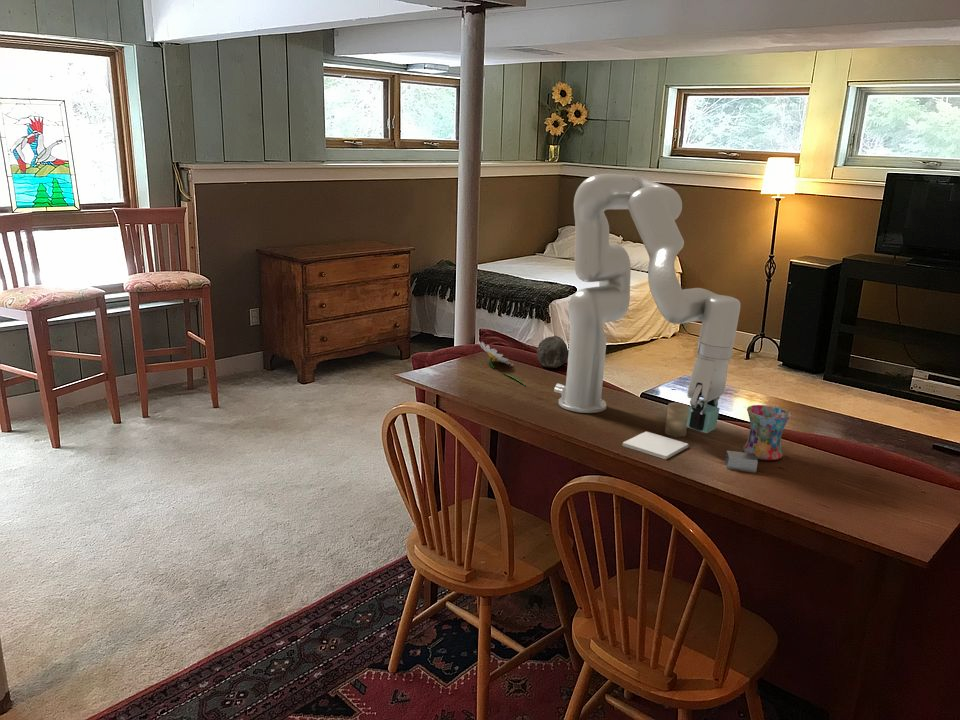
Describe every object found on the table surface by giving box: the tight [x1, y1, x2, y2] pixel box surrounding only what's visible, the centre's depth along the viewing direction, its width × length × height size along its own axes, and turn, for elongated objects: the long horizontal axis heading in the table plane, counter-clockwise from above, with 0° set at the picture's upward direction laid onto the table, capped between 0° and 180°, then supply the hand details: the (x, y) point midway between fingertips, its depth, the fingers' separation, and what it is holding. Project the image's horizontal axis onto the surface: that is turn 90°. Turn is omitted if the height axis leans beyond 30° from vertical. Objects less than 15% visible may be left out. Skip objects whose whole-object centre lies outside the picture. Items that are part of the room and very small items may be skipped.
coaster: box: [621, 431, 689, 460], centre depth 175 cm, size 11×11×1 cm
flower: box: [477, 340, 525, 384], centre depth 229 cm, size 13×5×30 cm
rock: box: [536, 335, 569, 369], centre depth 238 cm, size 10×11×10 cm
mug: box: [742, 404, 792, 461], centre depth 172 cm, size 12×9×11 cm
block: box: [686, 402, 721, 434], centre depth 175 cm, size 5×5×5 cm
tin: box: [724, 450, 759, 473], centre depth 165 cm, size 6×4×3 cm, turn 79°
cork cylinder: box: [664, 402, 690, 438], centre depth 184 cm, size 5×5×7 cm
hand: (701, 425), depth 175 cm, fingers closed on block, 5 cm apart
